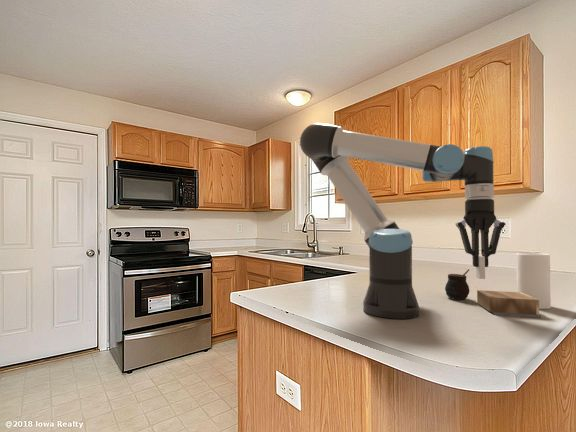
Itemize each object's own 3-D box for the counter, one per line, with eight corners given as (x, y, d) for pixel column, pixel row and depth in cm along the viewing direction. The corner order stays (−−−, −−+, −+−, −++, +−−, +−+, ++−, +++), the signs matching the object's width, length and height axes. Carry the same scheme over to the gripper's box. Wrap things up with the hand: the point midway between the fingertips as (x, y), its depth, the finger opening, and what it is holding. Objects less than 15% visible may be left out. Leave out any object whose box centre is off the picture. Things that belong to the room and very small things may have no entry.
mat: (495, 314, 88) (495, 313, 88) (478, 303, 100) (478, 302, 100) (540, 317, 85) (540, 316, 85) (517, 305, 98) (517, 304, 98)
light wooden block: (489, 297, 89) (538, 299, 87) (477, 290, 99) (520, 292, 96) (490, 311, 89) (539, 314, 87) (477, 303, 99) (521, 305, 96)
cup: (543, 303, 101) (542, 253, 101) (556, 309, 93) (555, 255, 93) (513, 301, 103) (512, 252, 104) (522, 307, 96) (521, 254, 96)
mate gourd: (440, 296, 110) (440, 267, 110) (460, 296, 111) (460, 267, 111) (453, 301, 103) (453, 270, 103) (475, 301, 104) (475, 270, 104)
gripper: (459, 198, 93) (460, 279, 92) (509, 197, 90) (511, 281, 89) (452, 200, 100) (453, 275, 100) (498, 199, 97) (499, 276, 97)
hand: (480, 277), depth 94 cm, fingers closed
